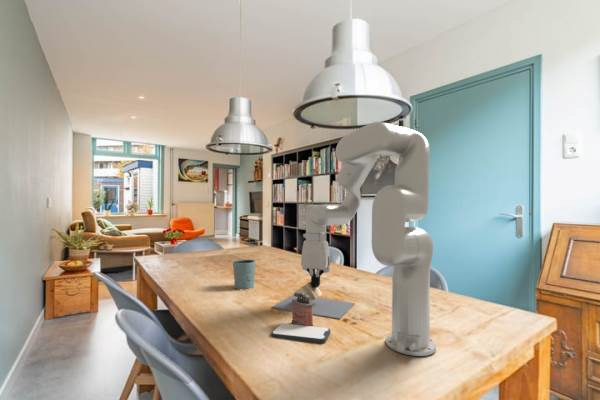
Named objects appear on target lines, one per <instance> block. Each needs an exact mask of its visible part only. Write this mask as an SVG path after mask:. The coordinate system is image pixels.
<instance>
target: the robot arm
mask: <svg viewBox="0 0 600 400" xmlns="http://www.w3.org/2000/svg"><path fill="white" fill-rule="evenodd" d="M430 153H431V149H430V143H429V141H428V139H427V138H426V137H425V136H424V134H422V133H420V132H419V131H416V130H414V129H411V128H409V127H408V128H407V127H406V126H405V127H404V126H401V125H400V126H399V125H395V124H391V123H388V122H384V121H383V122H381V121H375V122H371V123H369V124H367V125H363V126H362V127H359V128H358V129H356V130H353V131H351V132H349V133H348V134H346V135H344V136H343V137H342V138H341V139H340V140H339V141H338V142H337V145H336V147H335V156H336V159H337V160H338V161H339V162H340V163H342V164H343V165H342V167H341V169H340V170H339V172H338V174H337V176H336V180H337V183H338V184H339V185H340V186H341V187H342V188H343V189H345V190H346V191H347V192H346V195H345V197H344V199H343V201H342V202H341V203H339V204H338V203H337V204H336V203H333V204H332V203H330V204H328V203H324V204H308V205H307V206H306V220H305V221H306V224H305V225H306V226H305V229H306V230H305V233H303V234H302V237H303V238H305V240H304V241H303V244H302V249H301V259H300V260H301V262H300V265H301V267H302V268H301V269H302V270H303V271H305V272H306V271H307V272H308V274H309V276H310V278H311V279H310V282H311V284H312V287H313V288H314V287H315V288H317V287H318V288H319V287H320V284H321V277H322V275H323V274H325V273H326V274H327V273H330V271H331V269H330V266H331V257H330V256H331V255H330V247H329V242H328V241H327V226H328V227H329V226H339V225H340V226H344V225H347V224H348V223H350V222H351V221H352V220H353V218H354V216H355V215H356V213H357V212H358V210H359V208H360V206H361V199H362V198H361V197H362V195H361V194H362V193H361V187H362V185H363V184H364V182H365V180H366V179H367V177H368V175H369V174H370V172H371V171H372V169H373V167H374V166H375V164H376V163H377V161H378V158H379V156H380V155H382V156H387V157H388V156H389V157H396V158H399V160H398V162H397V164H396V168H395V171H394V172H395V173H394V184H393V185H392V184H390V185H386V186H383V187H382V188H380V189H379V190H378V191H377V193H376V194H375V196H374V199H373V201H372V205H371V206H372V207H371V249H372V253H373V255H374V257H375V259H376V260H377V262H379V263H380V264H381V265H383V266H386V267H393V270H392V273H391V274H392V275H391V333H390V334H388V335H387V336H386V337H385V344H386V345H387V347H389V349H391V350H393V351H395V352H397V353H400V354H403V355H406V356H412V357H426V356H430V355H433V354H434V353H435V352H436V351H437V344H436V342H435V341H434V340H433V339H431V338H430V337H431V336H430V332H431V331H430V330H431V329H430V328H431V327H430V324H431V323H430V319H431V317H430V315H431V313H430V312H431V311H430V310H431V309H430V307H431V305H430V303H431V302H430V292H431V291H430V288H431V287H430V286H431V284H430V281H431V280H430V278H431V277H430V276H431V267H432V260H433V255H434V243H433V239H432V237H431V235H430V234H429V233H428V232H427V231H426V230H425V229H423V228H420V227H417V226H406V223H413V222H417V221H421V220H423V219H424V218H425V217H426V216H427V213H428V210H429V189H430V188H429V186H430V182H429V180H430V179H429V176H430V175H429V167H430V158H431V157H430V155H431V154H430Z"/></svg>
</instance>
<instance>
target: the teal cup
mask: <svg viewBox="0 0 600 400" xmlns="http://www.w3.org/2000/svg"><path fill="white" fill-rule="evenodd" d="M232 266H233V279H234V289H235V288H237V289H249V288H252V289H254V288H255V276H256V275H255V273H256V272H255V271H256V270H255V269H256V260H255V259H236V260H233V261H232ZM253 287H254V288H253ZM237 289H236V290H237ZM249 290H250V289H249Z"/></svg>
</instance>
